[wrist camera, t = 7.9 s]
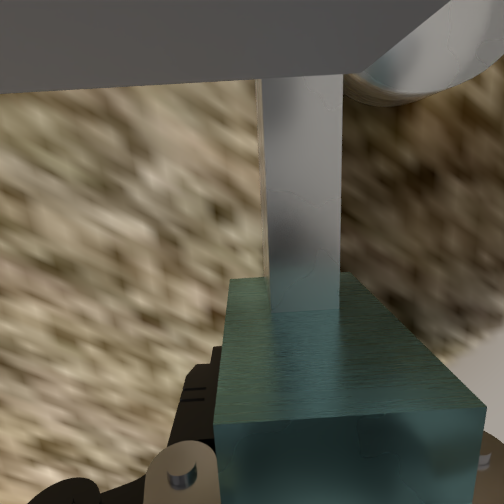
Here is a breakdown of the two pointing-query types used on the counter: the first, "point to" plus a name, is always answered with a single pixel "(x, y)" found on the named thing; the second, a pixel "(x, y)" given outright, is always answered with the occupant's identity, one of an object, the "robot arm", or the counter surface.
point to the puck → (434, 55)
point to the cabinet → (194, 40)
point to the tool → (328, 346)
